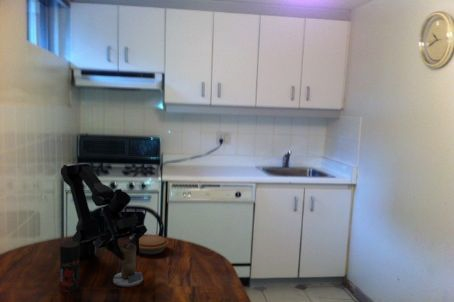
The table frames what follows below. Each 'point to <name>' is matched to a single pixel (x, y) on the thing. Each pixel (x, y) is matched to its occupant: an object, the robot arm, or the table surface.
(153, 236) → the pie
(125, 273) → the brown cylinder
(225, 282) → the table surface
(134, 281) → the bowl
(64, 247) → the deodorant
